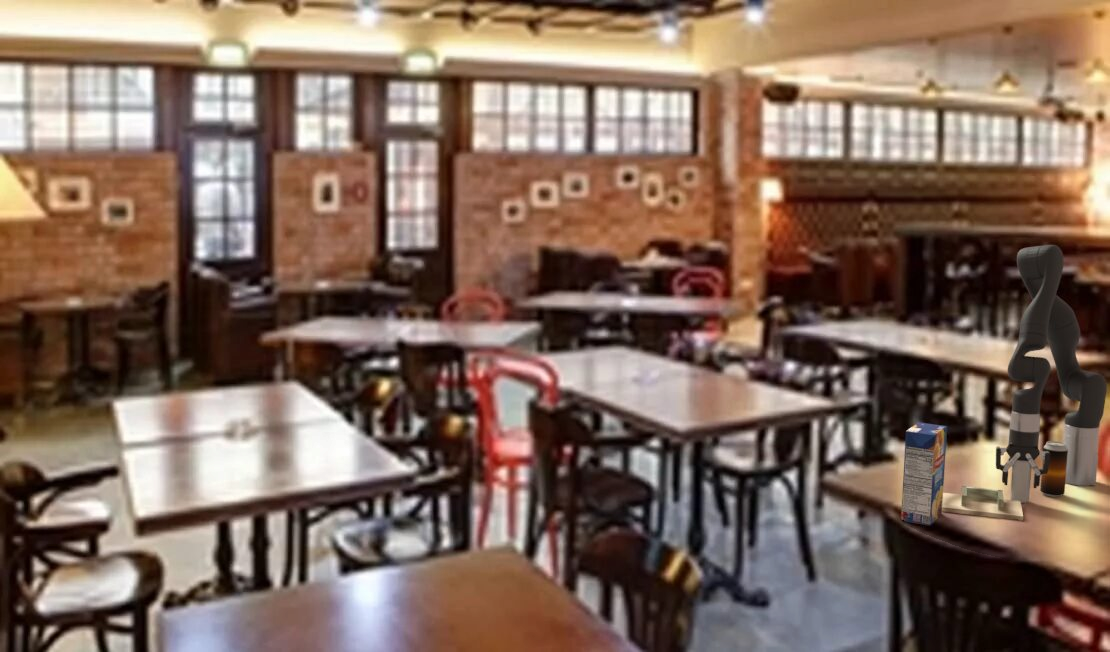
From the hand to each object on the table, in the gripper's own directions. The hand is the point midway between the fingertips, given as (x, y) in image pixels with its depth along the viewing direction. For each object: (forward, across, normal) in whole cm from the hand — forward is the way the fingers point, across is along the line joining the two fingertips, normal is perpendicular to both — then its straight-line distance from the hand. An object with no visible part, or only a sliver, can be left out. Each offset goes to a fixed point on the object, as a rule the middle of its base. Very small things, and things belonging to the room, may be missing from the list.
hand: (1020, 485), depth 295 cm
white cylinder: (+5, 0, 0) cm, 5 cm away
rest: (+4, +10, +11) cm, 15 cm away
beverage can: (+5, -9, -10) cm, 14 cm away
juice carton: (+5, +25, +25) cm, 36 cm away
